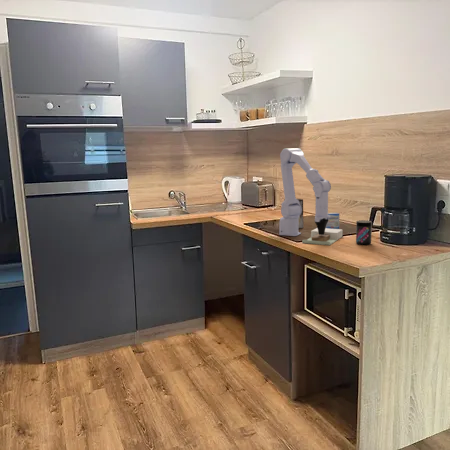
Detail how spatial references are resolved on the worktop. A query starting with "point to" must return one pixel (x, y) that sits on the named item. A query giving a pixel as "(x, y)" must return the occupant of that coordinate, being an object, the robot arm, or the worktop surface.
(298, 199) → the coffee box
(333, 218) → the medicine box
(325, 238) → the tile
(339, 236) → the white box
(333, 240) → the mat
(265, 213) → the worktop surface
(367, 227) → the supplement container
